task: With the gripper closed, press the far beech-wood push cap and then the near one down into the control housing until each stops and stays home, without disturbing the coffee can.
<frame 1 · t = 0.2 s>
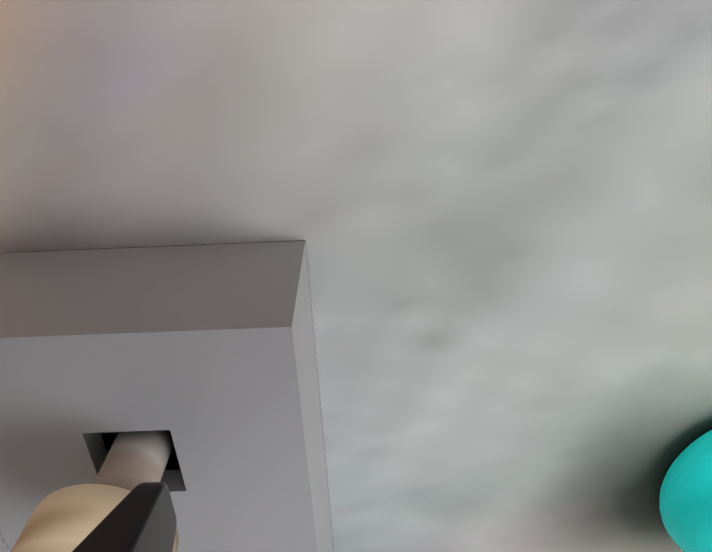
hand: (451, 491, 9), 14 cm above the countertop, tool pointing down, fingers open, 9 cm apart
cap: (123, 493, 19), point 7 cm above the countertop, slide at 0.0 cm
housing: (201, 448, 28), on the countertop
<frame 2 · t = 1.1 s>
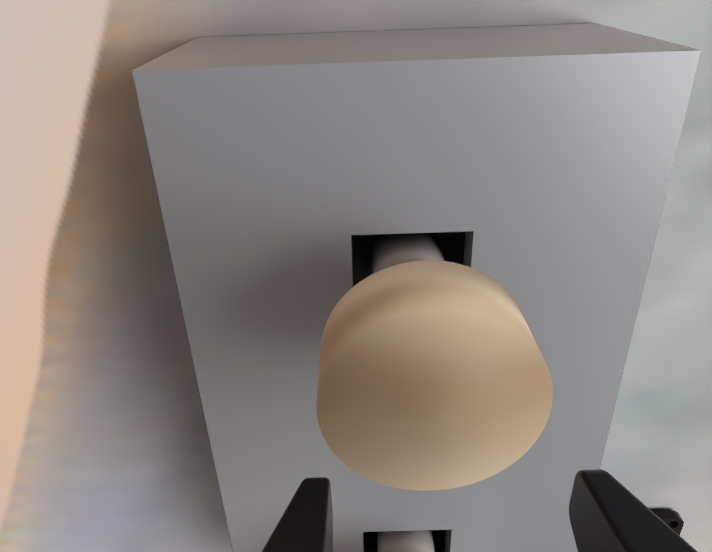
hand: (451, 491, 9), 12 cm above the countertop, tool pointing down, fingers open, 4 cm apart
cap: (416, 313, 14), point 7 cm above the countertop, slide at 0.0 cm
housing: (395, 331, 23), on the countertop
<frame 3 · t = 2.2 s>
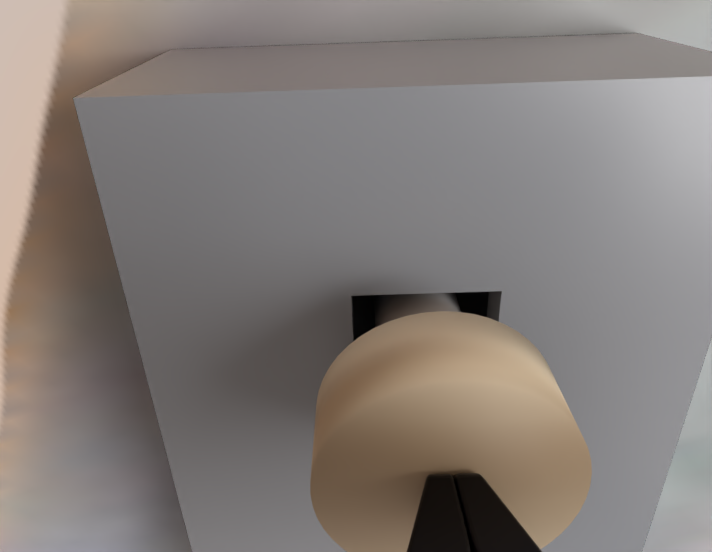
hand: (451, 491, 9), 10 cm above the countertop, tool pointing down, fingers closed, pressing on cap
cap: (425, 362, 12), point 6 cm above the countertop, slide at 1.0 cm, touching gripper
housing: (401, 378, 20), on the countertop
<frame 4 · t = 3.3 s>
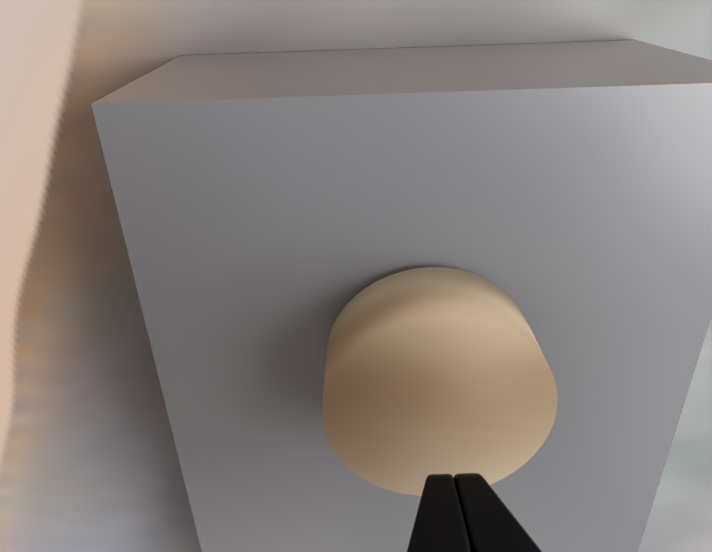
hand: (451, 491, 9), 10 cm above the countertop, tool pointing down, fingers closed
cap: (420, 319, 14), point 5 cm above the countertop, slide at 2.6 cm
housing: (403, 377, 20), on the countertop
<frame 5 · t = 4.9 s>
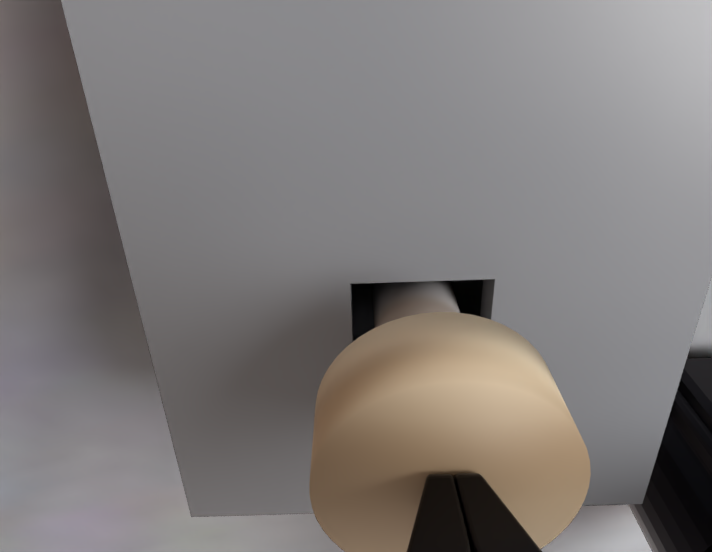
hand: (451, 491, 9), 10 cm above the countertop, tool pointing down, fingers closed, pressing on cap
housing: (401, 39, 15), on the countertop
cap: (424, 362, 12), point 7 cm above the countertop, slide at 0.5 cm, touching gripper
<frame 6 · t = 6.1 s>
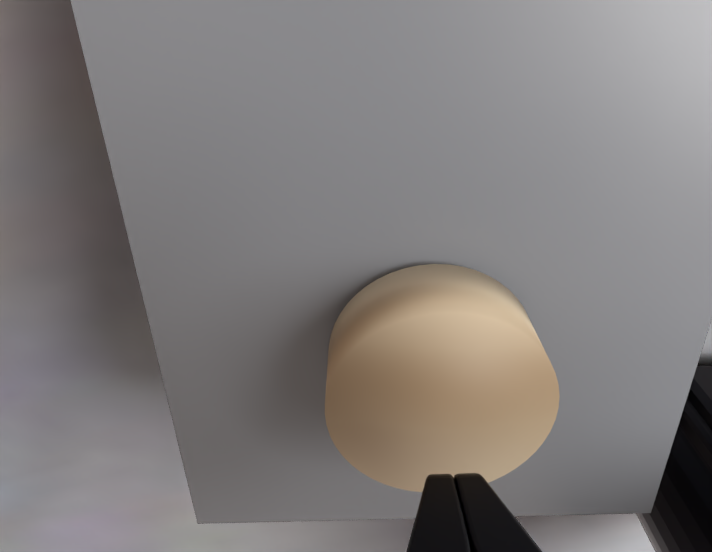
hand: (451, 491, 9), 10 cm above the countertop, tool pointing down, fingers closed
housing: (409, 46, 15), on the countertop
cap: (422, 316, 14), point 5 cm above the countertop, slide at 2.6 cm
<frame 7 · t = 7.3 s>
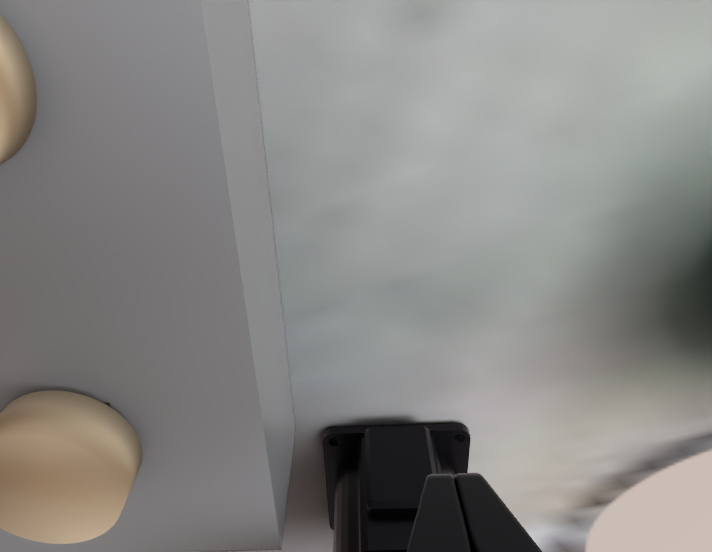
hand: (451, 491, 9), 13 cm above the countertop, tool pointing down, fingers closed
housing: (102, 204, 21), on the countertop
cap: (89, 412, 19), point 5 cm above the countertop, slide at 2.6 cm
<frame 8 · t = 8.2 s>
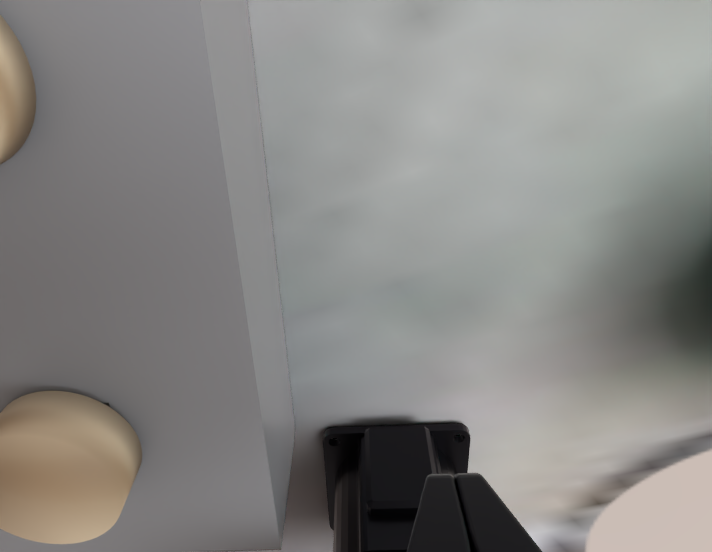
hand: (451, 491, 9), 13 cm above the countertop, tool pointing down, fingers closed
housing: (102, 204, 21), on the countertop
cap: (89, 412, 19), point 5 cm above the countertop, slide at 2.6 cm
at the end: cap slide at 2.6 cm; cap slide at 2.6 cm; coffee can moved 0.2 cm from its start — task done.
